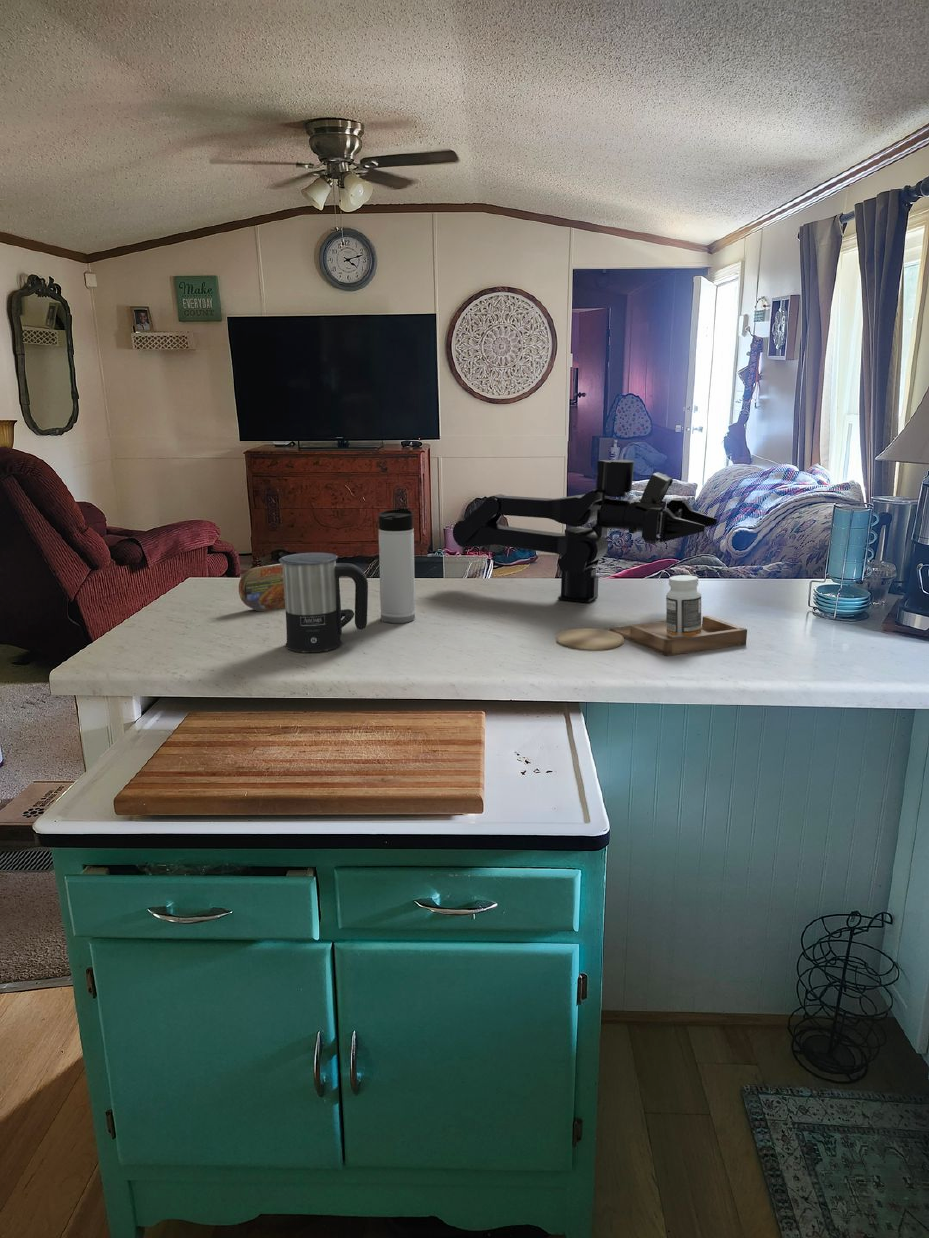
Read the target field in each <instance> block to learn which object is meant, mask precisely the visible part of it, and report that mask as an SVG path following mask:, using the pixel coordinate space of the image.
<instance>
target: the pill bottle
mask: <svg viewBox="0 0 929 1238" xmlns="http://www.w3.org/2000/svg"><path fill="white" fill-rule="evenodd" d="M668 586H669V587H670V590H668V591H667V592H666V595H665V597H666V598H665V599H666V600H665V601H666V602H665V605H666V606H665V607H666V610H665V611H666V615H665V616H666V620H665V621H666V624H667V635H668V636H669V637H671V638H675V637H683V636H690V635H697V634H701V624H702V593H701V592H700V590H698V586H699V577H698V576H697V575H691V574H690V575H689V574H688V575H687V574H685V575H684V574H682V575H679V574H678V575H674V576H670V577H669V578H668Z"/></svg>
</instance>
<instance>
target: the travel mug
mask: <svg viewBox="0 0 929 1238" xmlns="http://www.w3.org/2000/svg"><path fill="white" fill-rule="evenodd" d="M378 524H379V525H378V556H379V557H378V559H379V562H378V564H379V566H378V567H379V595H380V596H379V598H380V600H379V602H380V603H379V605H380V619H381V621H382V622H385V623H386V624H387V623H388V624H404V623H405V624H407V623H411V622H413V621H414V620H415V619H416V611H415V610H416V606H415V605H416V599H415V598H416V597H415V596H416V592H415V591H416V590H415V586H416V585H415V536H414V535H415V532H414V529H415V528H414V512H413V510H410V508H408V507H398V509H396V508H395V509H389V510H384V511H381V512H379V513H378Z"/></svg>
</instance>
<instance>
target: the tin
mask: <svg viewBox="0 0 929 1238" xmlns="http://www.w3.org/2000/svg"><path fill="white" fill-rule="evenodd" d="M238 594H239V598H240V600H241V602H242V603H243V604H244V605H246V606H247V607H248V608H250V609H253V610H255V611H257V612H258V611H259V612H264V611H270V610H276V609H281V608H285V597H284V582H283V568H282V564H281V563H275V564H271V565H270V564H268V565H264V566H256V567H252V568H250V569H248V570H246V571H245V572H244V573H243V575H242V576H241V578H240V580H239V583H238Z"/></svg>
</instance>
